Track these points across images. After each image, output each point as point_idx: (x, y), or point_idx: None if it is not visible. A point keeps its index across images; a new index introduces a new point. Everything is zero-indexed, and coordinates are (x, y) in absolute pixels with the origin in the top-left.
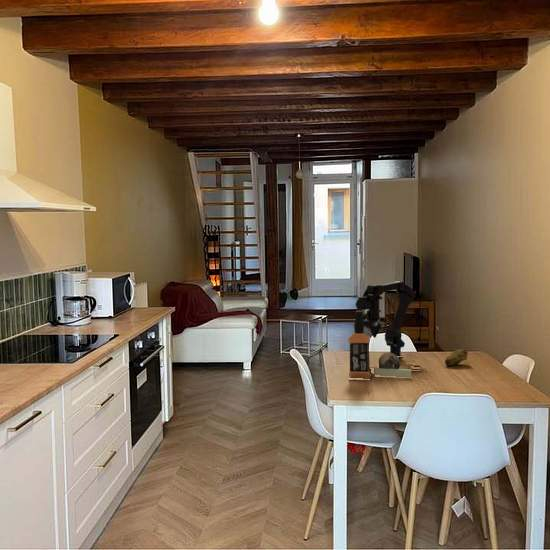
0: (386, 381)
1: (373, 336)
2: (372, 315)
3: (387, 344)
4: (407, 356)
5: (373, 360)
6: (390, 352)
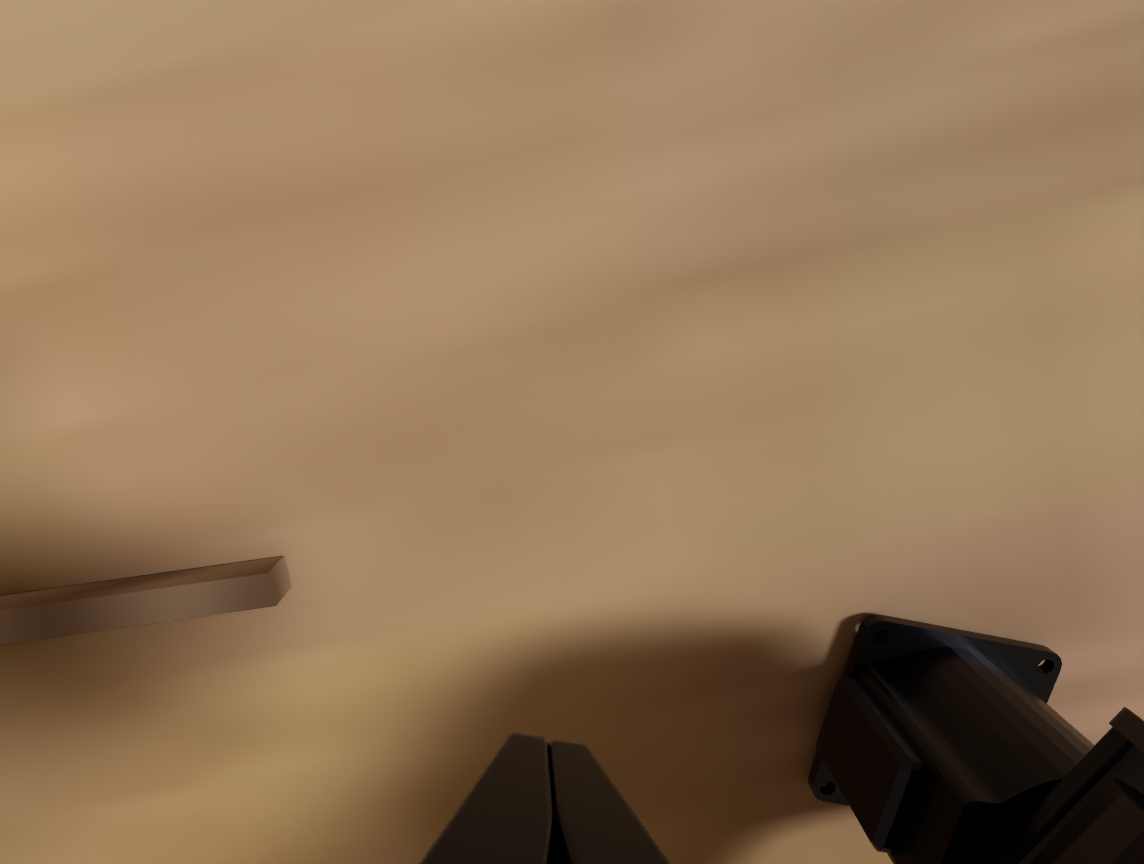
0: None
1: (484, 777)
2: None
3: (1129, 738)
4: None
5: (626, 413)
6: (941, 703)
